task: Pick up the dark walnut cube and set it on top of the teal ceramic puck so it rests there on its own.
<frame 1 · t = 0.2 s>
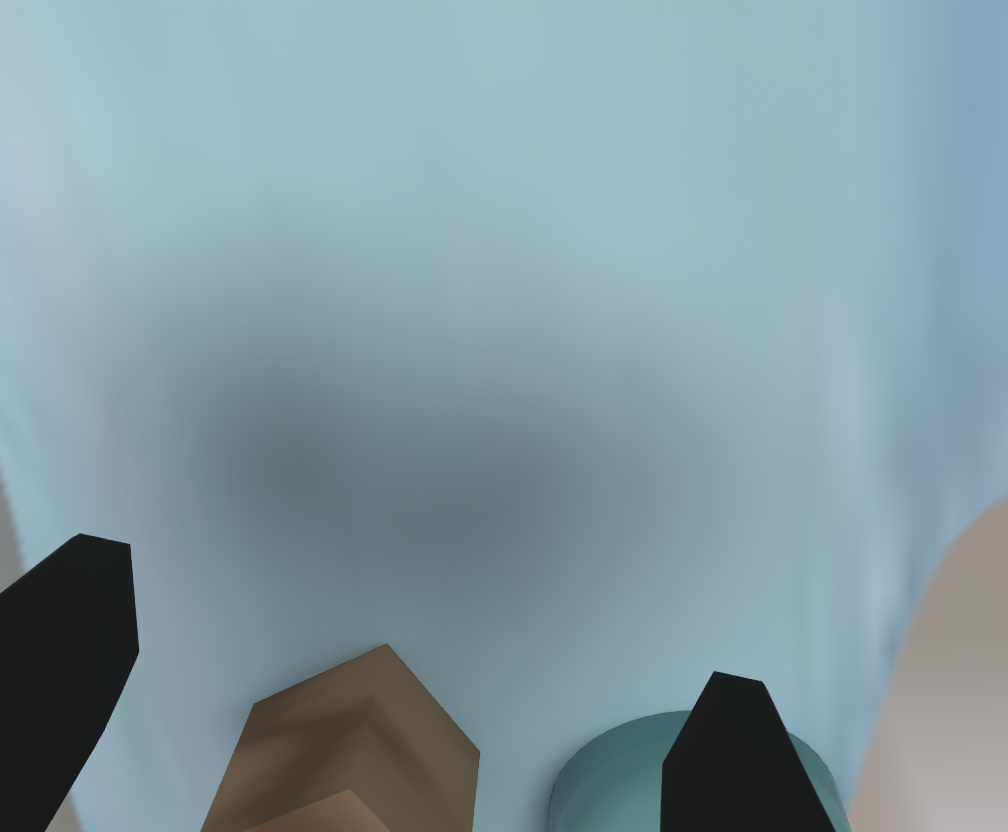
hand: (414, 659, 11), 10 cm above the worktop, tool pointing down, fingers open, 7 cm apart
teal puck: (691, 808, 27), on the worktop
walnut cube: (368, 725, 26), on the worktop
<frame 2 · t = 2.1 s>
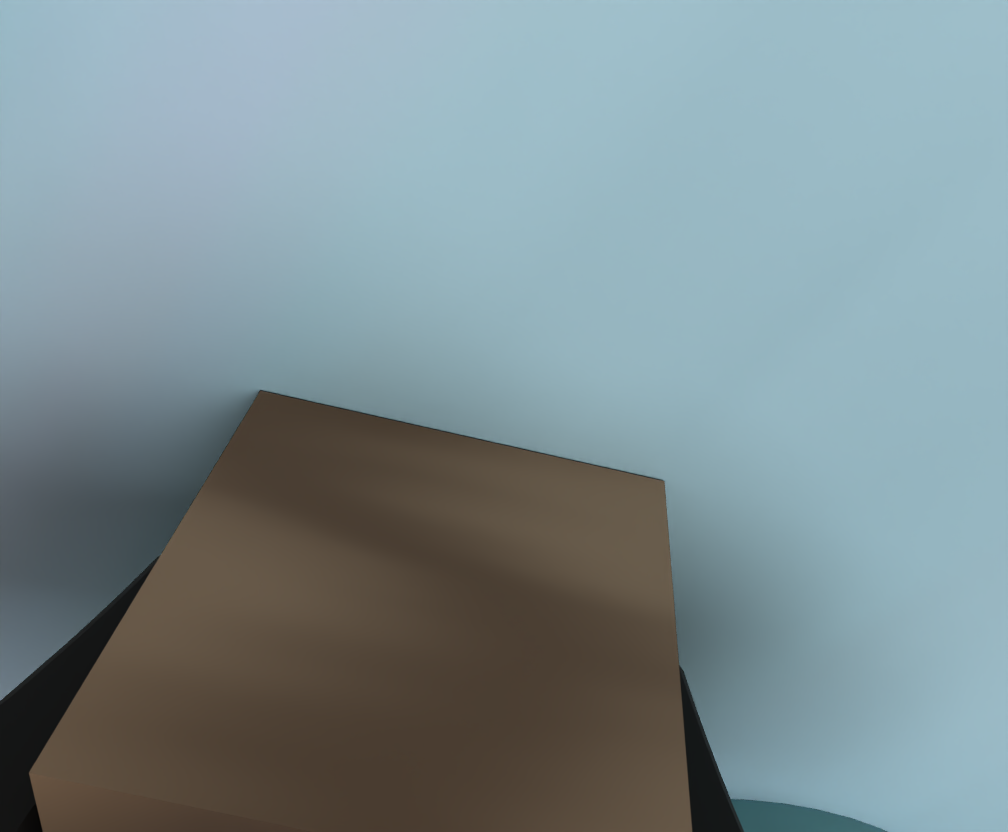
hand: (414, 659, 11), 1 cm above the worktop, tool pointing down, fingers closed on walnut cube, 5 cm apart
walnut cube: (433, 576, 12), on the worktop, touching gripper
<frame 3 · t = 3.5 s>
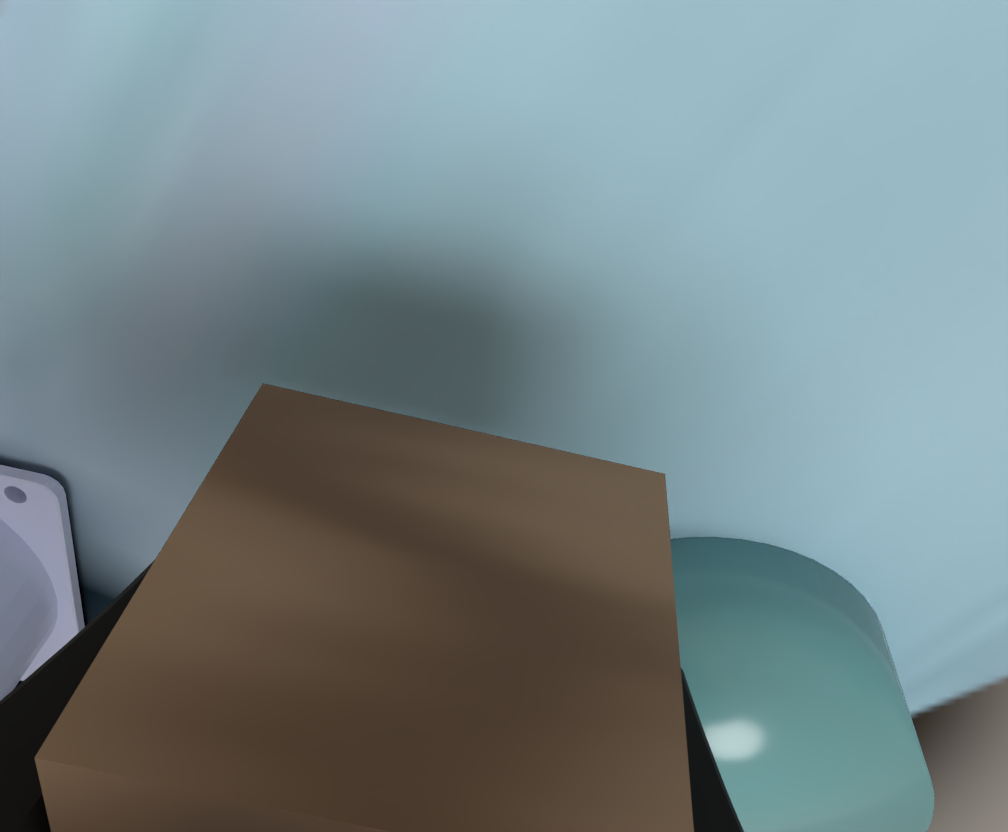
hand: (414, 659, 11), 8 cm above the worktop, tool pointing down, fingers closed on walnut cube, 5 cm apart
teal puck: (698, 662, 22), on the worktop
walnut cube: (434, 569, 12), point 6 cm above the worktop, touching gripper
when the fingers open (7 cm above the worktop, at t = 5.2 s): walnut cube drops 1 cm, resting on teal puck.
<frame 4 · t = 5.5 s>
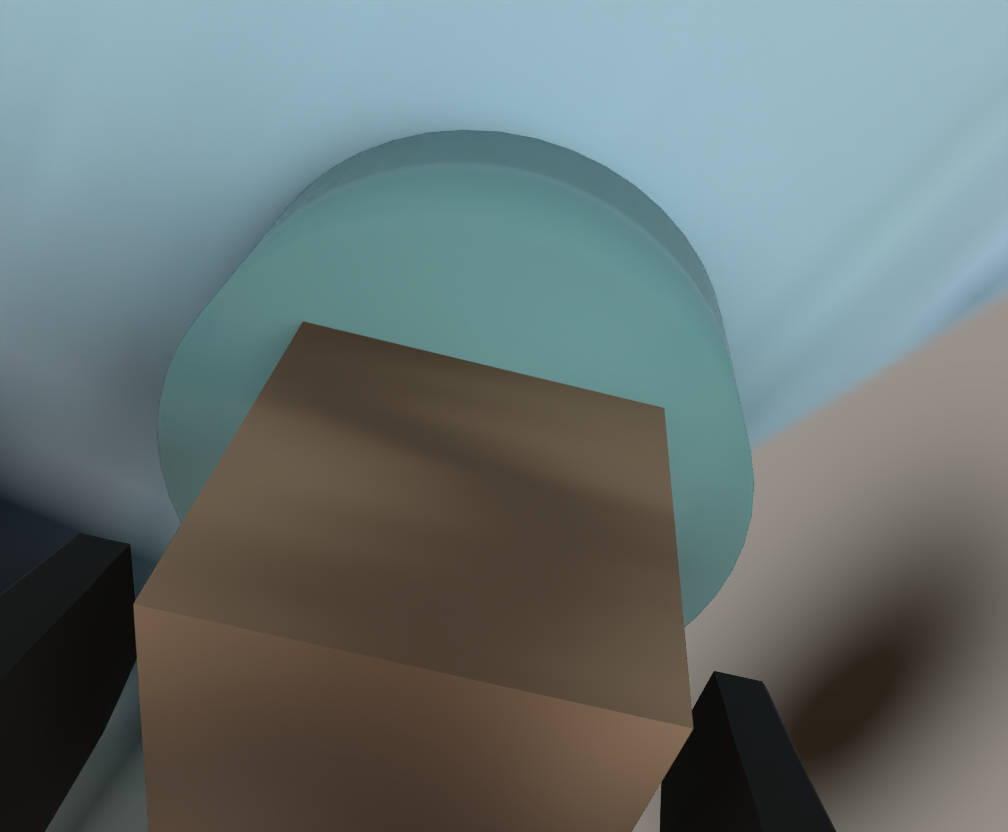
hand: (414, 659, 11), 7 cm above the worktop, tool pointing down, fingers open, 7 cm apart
teal puck: (481, 365, 16), on the worktop, touching walnut cube
walnut cube: (452, 499, 13), point 4 cm above the worktop, touching teal puck
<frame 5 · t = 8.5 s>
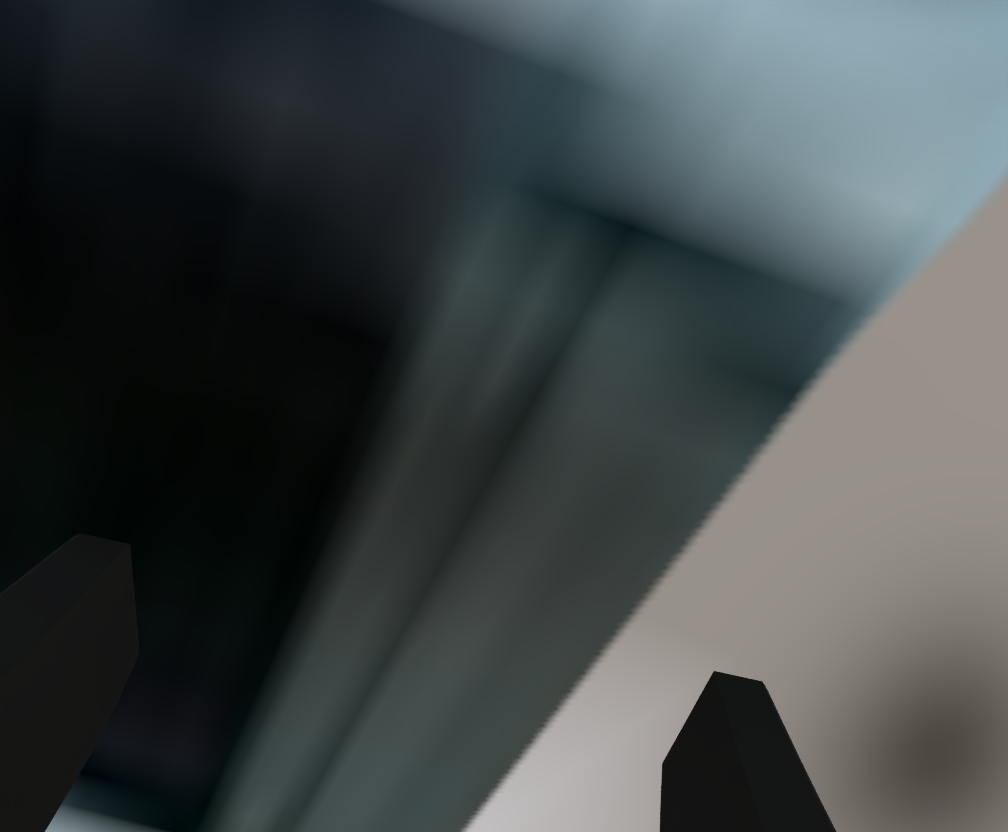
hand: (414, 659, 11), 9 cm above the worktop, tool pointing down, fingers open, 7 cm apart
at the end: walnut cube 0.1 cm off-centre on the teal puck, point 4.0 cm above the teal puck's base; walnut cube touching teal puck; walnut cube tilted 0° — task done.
